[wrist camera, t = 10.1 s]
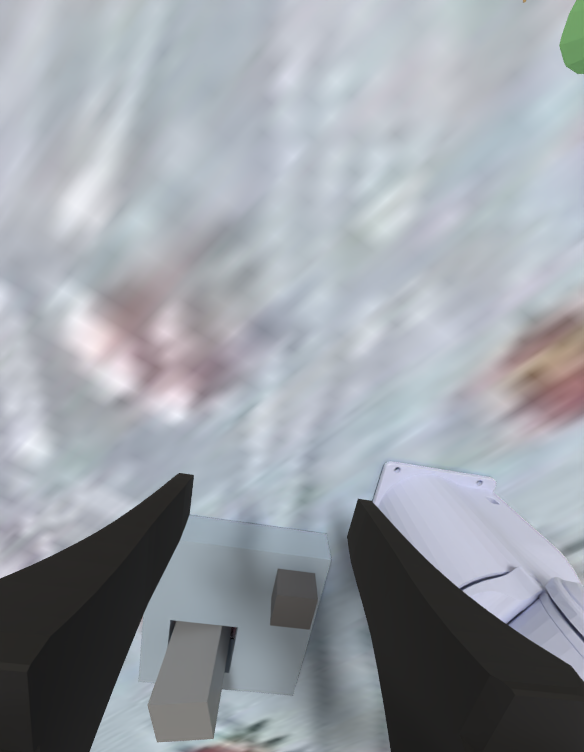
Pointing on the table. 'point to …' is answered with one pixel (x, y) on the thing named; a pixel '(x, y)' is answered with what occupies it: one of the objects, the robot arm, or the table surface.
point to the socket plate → (241, 599)
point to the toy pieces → (574, 39)
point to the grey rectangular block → (190, 682)
